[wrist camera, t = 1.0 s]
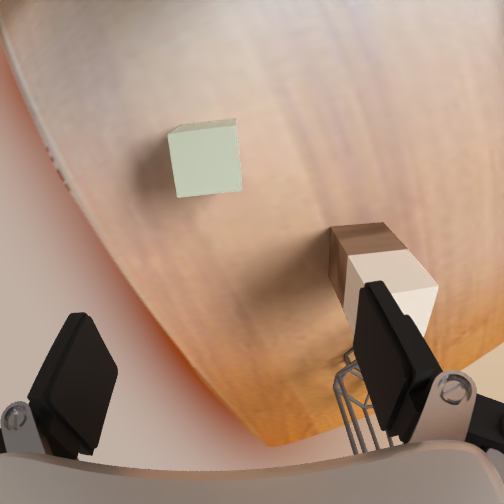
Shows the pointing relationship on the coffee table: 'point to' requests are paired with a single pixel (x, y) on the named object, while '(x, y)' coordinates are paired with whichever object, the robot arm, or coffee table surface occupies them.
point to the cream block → (392, 284)
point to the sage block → (205, 158)
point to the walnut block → (356, 248)
